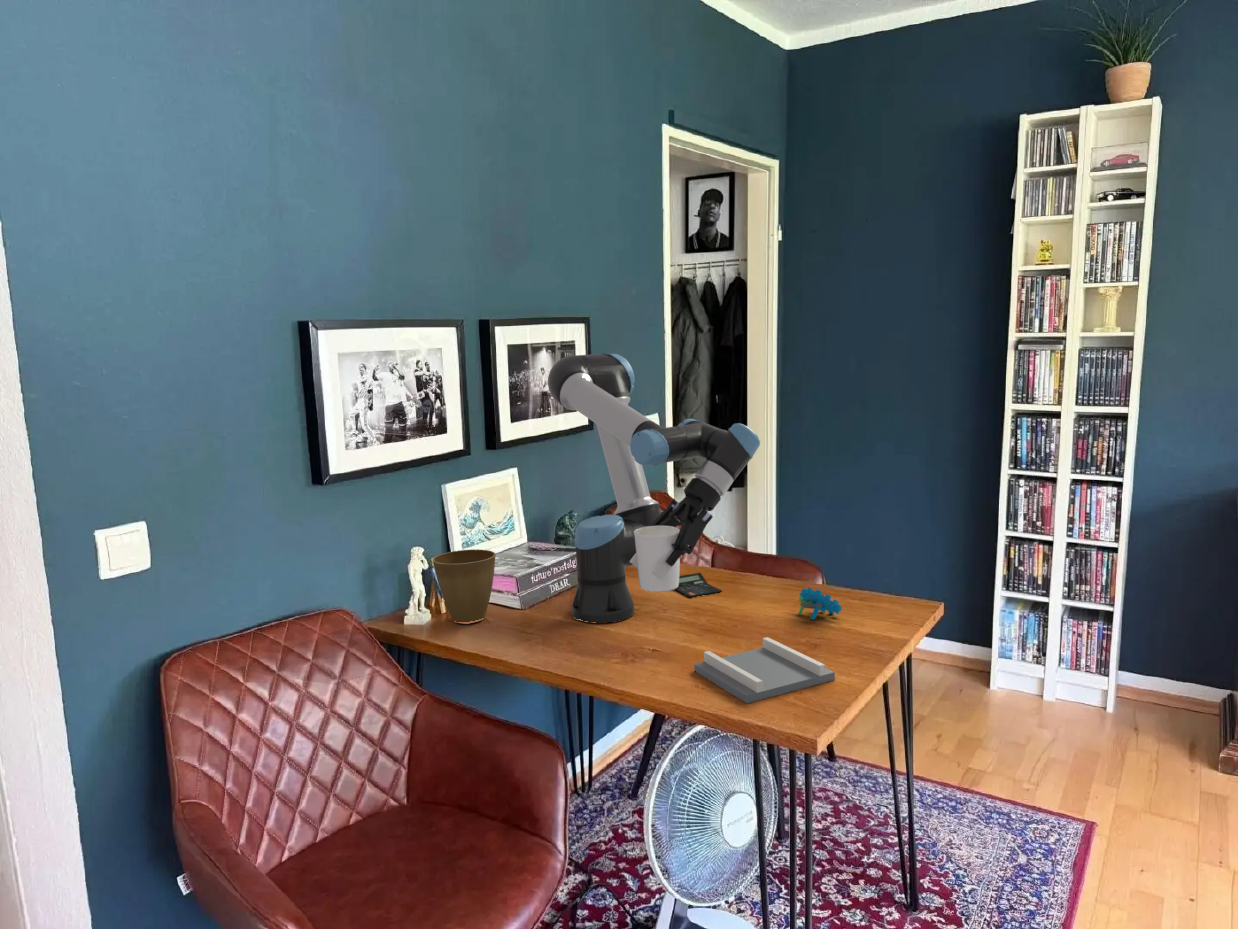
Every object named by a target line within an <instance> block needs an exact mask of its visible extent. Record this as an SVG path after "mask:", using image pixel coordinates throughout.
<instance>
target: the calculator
mask: <svg viewBox="0 0 1238 929" xmlns="http://www.w3.org/2000/svg"><path fill="white" fill-rule="evenodd" d="M674 590H676V592H677V593H679V594H681V595H683V596H684V595H686V596H687V598H688V597H689V598H688V599H694V598H693V597H695V598H698V597H697V596H700V597H703V596H702V595H706V596H710V595H711V594H712V595H716V594H715V593H717V594H721V593H720V592H722V593H723V590H722V589H721V588H717V587H715V586H713V585H711V584H710V583H708V582H707V580H706V579H705V577H704V575H703V574H702V572H695V573H690V574H685V575H683V574H682V575H679V586H678V587H677V588H676V589H674ZM686 596H685V597H686Z"/></svg>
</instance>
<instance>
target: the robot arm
mask: <svg viewBox="0 0 1238 929" xmlns="http://www.w3.org/2000/svg"><path fill="white" fill-rule="evenodd" d="M547 377H548V378H547V386H548V391H549V393H550V395H551V397H552V398H553V400H555V401H556V402H557V403H558V404H560V405H561V407H564V408H565V409H566V410H570V411H577V412H579V413H580V414H581V415H583V416H584V417H586V418H587V419H589V420H590V421H591V422H593V423H595V425H596V428H597V432H598V436H599V439H600V443H601V447H602V450H603V454H604V459H605V462H606V466H607V470H608V473H609V474H608V475H609V478H610V481H611V485H612V489H613V493H614V497H615V501H616V503H617V507H616V509H615V511H614V512H613V514H602V515H595V516H591V517H589V518H586V519H584V520H581V521H580V522H579V523H578V524H577V525H576V528H575V535H574V546H575V558H576V575H577V576H576V578H577V586H576V590H575V594H574V597H573V601H572V605H571V616H572V615H573V616H574V617H575V618H576V619H581V620H583V621H588V622H596V623H595V624H605V623H604V622H612V623H616V622H615V621H618V622H620V621H619V620H622V619H625V620H627V619H630V618H632V616H633V615H634V614H635V603H634V599H633V597H632V595H631V591H630V589H629V587H628V584H627V579H626V567H629V566H634V567H635V568H636V569H637V570H638V567H637V557H636V547H635V537H634V531H635V530H636V529H638V528H642V527H647V526H673V527H680V528H679V529H680V531H679V535H678V537H677V539H676V542H675V543H674V544H673V545H672V547H674V548H675V549H673V548H672V547H670V549H669V550H668V551H667V552H666V553H665V555H664V556H663V557H662V559H661V560H660V561H659V563H658V564H657V565H656V567H655V568H654V569H653V571H652V573H653V574H654V575H656V576H657V577H658V578H659V579H660V580H663V578H664V577H665V576H666V574H667V573H668V571H669V570H670V569H671V567H672V566H673V565H674V564H675V562H676V561H677V560H678V559H679V557H680V558H681V556H683V555H685V554H687V555H690V554H692V552H693V551H694V549H695V547H696V545H697V543H698V542H699V539H700V538H701V536H702V534H703V532H704V530H705V528H706V527H707V525H708V524H709V523H710V522H711V520H712V519H713V514H711V511H713V510H714V509H715V507H717V505H718V504H719V502H720V501H721V497H722V496H724V495H725V494H726V492H727V491H728V490H729V489H730V487H731V486H732V485H733V482H735V480H736V479H737V477H738V476H740V473H741V472H742V471H743V470H744V468H745V467H746V466H747V465H748V464H749V462H750V461H751V459H753V457H754V455H755V454H756V453H757V451H758V449H759V448H760V445H761V439H760V437H759V436H758V434H757V433H756V432H755V431H754V430H752V429H751V428H750V427H749V426H747V425H745V424H743V423H739V422H738V423H736V422H735V423H733V424H732V425H731V427H729V428H728V430H725V429H721V428H719V427H716V426H714V425H711V424H709V423H706V422H704V421H702V420H700V419H699V420H698V419H694V418H686V419H684V420H683V421H682V422H680V423H679V424H678V425H675V426H668V427H667V426H666V427H664V426H661V425H660V424H658V423H656V422H655V421H653V420H651V419H650V418H649V417H646V416H645V415H644V414H642V413H640V412H639V411H637V410H635V409H634V408H633V407H631V406H629V403H630V402H631V396H630V395H631V394H632V392H633V391H634V388H635V385H634V384H635V381H636V380H635V374H634V370H633V368H632V365H631V364H630V362H629V361H628V360H627V359H626V358H625V356H624V357H623V356H622V355H620V354H617V353H609V352H608V353H607V352H603V353H596V354H592V353H591V354H579V355H577V354H574V355H566V356H564V357H562V358H560V359H559V360H557V361H556V362H555V363H554V364H553V365H552V367H551V369H550V371H549V373H548V376H547ZM695 458H701V459H703V460H705V461H704V462H703V463H702V465H701V466H700V468H699V469H698V470H697V472H696V473H695V474H694V476H695V477H692V478H691V480H690V481H689V482H688V483H687V485H686V486H685V488H684V489H683V492H684V496H685V497H684V498H682V499H681V500H680V501H679V502H678V501H677V500H676V499H672V500H671V502H670V503H669V504H668V506H667V507H666V508H665V509H664V510H661V508H660V505H659V501H657V500H655V499H653V498H652V497H651V493H650V490H649V486H648V482H647V478H646V475H645V470H644V467H643V466H658V465H662V464H665V463H672V462H677V461H684V460H689V459H695ZM576 619H575V620H576ZM622 621H623V620H622Z"/></svg>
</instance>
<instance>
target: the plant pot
mask: <svg viewBox="0 0 1238 929" xmlns="http://www.w3.org/2000/svg"><path fill="white" fill-rule="evenodd" d="M432 563H433V568H434V571H435V572H434V573H435V576H436V580H437V583H438V586H439V589H440V593H441V596H442V598H443V601H444V604H445V606H446V608H447V611H448V612H449V616H450V617H451V620H452V621H453V620H454V621H456V622H470V621H475V620H479V619H482V618H484V617H486V615H487V611H488V607H489V604H490V599H491V594H492V589H493V584H494V575H495V568H496V566H495V565H496V552H495V551H493V550H489V549H475V548H474V549H462V550H461V549H460V550H454V551H448V552H445V553H441V554H438V555H435V556H434V557H433V558H432ZM484 619H485V618H484ZM454 621H453V622H454Z"/></svg>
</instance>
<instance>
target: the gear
mask: <svg viewBox="0 0 1238 929" xmlns="http://www.w3.org/2000/svg"><path fill="white" fill-rule="evenodd" d="M799 595H800V596H799V598H798V599H797V600H798V602H800V604H799V606H800V608H799V611H798V612H797V615H798V614H799V615H798V616H801V615H802V613H803V611H804V609H811V610H813V612H812V613H811V615H810V617H809V619H810V620H811V619H812V620H811V621H815V619H816V618H817V616H818V614H819V611H820V612H822V613H825V612H827V613H829V614H830V613H831V614H830V615H834V614H837V615H839V614H840V612H841V611H842V609H843V607H842V605H840V601H838V600H836V599H833V600H831V598H832V596H831V595H830V594H827V593H826V594H825V595H824V594H823V592H822V590H819V589H815V590H814V589H813V588H812V587H807V589H806V588H804V587H803V588H802V590H801V591H800V593H799Z"/></svg>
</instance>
